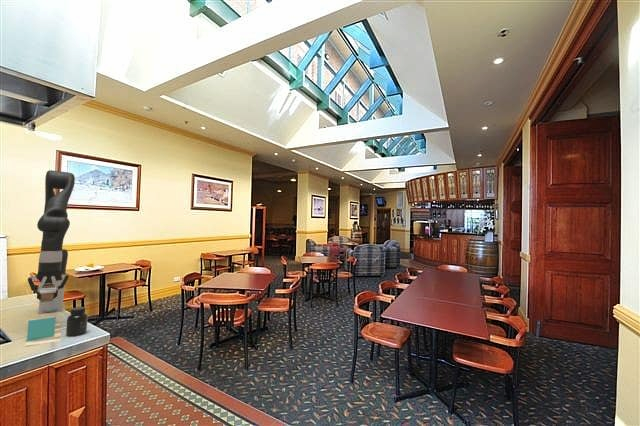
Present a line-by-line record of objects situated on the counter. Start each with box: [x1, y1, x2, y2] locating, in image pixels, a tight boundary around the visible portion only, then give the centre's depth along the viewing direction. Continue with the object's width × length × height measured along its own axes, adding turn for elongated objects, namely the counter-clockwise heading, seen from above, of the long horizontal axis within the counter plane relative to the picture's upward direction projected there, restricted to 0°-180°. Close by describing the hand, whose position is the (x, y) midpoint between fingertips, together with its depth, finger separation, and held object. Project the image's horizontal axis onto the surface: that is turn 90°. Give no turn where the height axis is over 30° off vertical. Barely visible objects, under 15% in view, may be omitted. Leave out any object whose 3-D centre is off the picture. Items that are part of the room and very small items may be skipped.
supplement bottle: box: [65, 306, 89, 338], centre depth 122 cm, size 7×7×12 cm
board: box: [25, 321, 62, 348], centre depth 120 cm, size 26×10×1 cm, turn 43°
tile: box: [26, 315, 57, 342], centre depth 116 cm, size 2×8×8 cm, turn 133°
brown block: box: [40, 284, 56, 302], centre depth 124 cm, size 11×5×7 cm, turn 44°
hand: (46, 298), depth 126 cm, fingers closed on brown block, 4 cm apart
